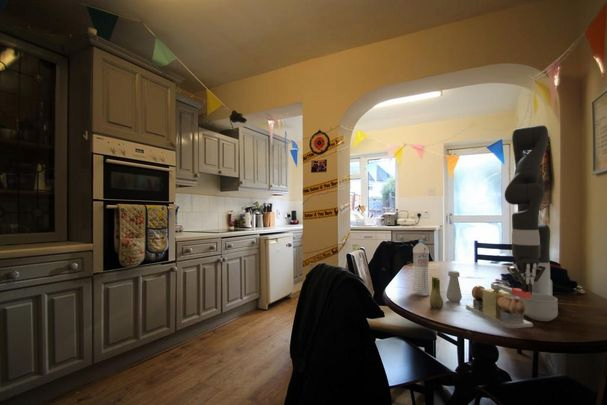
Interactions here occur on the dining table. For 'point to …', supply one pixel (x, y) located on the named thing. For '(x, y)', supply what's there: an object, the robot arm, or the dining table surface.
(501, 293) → the pipe run
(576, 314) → the dining table surface
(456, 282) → the salt shaker
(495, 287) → the valve lever
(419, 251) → the water bottle
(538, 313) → the teacup
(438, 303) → the fennel bulb
